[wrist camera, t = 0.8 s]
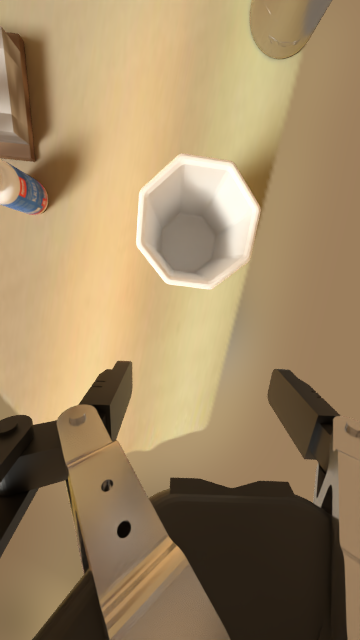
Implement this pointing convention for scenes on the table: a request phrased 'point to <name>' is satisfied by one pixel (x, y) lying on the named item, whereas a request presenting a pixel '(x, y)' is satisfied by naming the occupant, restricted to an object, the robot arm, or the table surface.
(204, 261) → the cup
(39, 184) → the pill bottle
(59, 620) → the robot arm
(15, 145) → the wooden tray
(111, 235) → the table surface
